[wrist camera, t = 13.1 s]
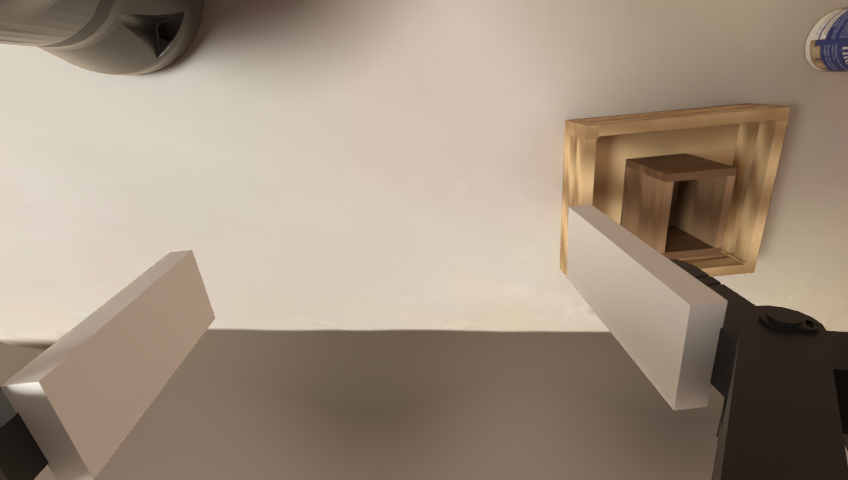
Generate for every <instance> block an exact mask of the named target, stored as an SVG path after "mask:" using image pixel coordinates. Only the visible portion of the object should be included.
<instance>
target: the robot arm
mask: <svg viewBox="0 0 848 480" xmlns="http://www.w3.org/2000/svg"><path fill="white" fill-rule="evenodd" d="M202 6H203V0H0V44H12V45H25V46H37V47H39V48H41V49H43V50H45V51H47V52H49V53H51V54H53V55H55V56H57V57H60V58H62V59H64V60H65V61H68V62H70V63H72V64H74V65H76V66H79V67H81V68H84V69H87V70H90V71H95V72H99V73H104V74H112V75H140V74H147V73H151V72H154V71H158V70H160V69H162V68H164V67H166V66H168V65H170V64H171V63H173V62H174V61H175V60H177V59H178V58H179V57H180V56H181V55H182V54H183V53H184V52H185V51H186V49H187V48H188V47H189V45H190V44H191V42H192V40H193V38H194V36H195V34H196V32H197V29H198V26H199V23H200V19H201V14H202ZM567 278H568V279H569V281H570V282H571V283H572V284H573V286H574V287H575V288H576V289H577V290H578V292H579V293H580V294H581V295H582V297H583V298H584V299H585V300H586V302H587V303H588V304H589V305H590V307H591V308H592V309H593V310H594V312H595V313H596V314H597V315H598V317H599V318H600V319H601V320H602V322H603V323H604V324H605V325H606V327H607V328H608V329H609V330H610V332H611V333H612V334H613V335H614V337H615V338H616V339H617V340H618V341H619V343H620V344H621V345H622V346H623V348H624V349H625V350H626V351H627V352H628V354H629V355H630V356H631V358H632V359H633V360H634V361H635V363H636V364H637V365H638V366H639V368H640V369H641V370H642V371H643V373H644V374H645V375H646V376H647V377H648V379H649V380H650V381H651V382H652V384H653V385H654V386H655V387H656V389H657V390H658V391H659V392H660V394H661V395H662V396H663V397H664V399H665V400H666V401H667V402H668V403H669V405H670V406H671V407H672V409H673V410H681V409H690V408H698V407H706V406H708V400H709V395H710V390H711V385H713V386H714V387H715V388H716V389H717V390H718V391H719V392H720V393H721V394H722V395H723V396H724V397H725V399H724V403H723V408H722V413H721V418H720V422H719V427H718V431H717V437H718V440H717V447H716V454H715V460H714V467H713V473H712V480H848V465H847V458H846V451H845V447H846V449H847V450H848V332H837V331H826V329H825V328H824V326H823V325H822V324H821V323H819V322H818V321H817V320H815V319H814V318H812V317H810V316H808V315H805V314H803V313H801V312H798V311H795V310H791V309H787V308H783V307H776V306H755V305H754V304H752V303H751V302H749V301H748V300H746V299H745V298H743V297H742V296H740V295H739V294H737V293H736V292H734V291H733V290H731V289H730V288H728V287H727V286H725V285H724V284H723V285H721V284H720V282H719V281H717V280H716V279H714V278H713V277H709V275H708V274H707V273H705V272H704V271H702V270H701V269H699V268H698V267H696V266H695V265H692V264H689V263H686V262H684V261H681V260H678V259H668V258H666V257H665V256H663V255H662V254H661V253H659V252H658V251H656V250H655V249H653V248H652V247H651V246H649V245H648V244H646V243H645V242H643V241H642V240H641V239H639V238H638V237H636V236H635V235H634V234H632V233H631V232H629V231H628V230H626V229H625V228H624V227H622V226H621V225H619V224H618V223H616V222H615V221H614V220H612V219H611V218H609V217H608V216H607V215H605V214H604V213H602V212H601V211H599V210H598V209H597V208H595V207H594V206H592V205H591V204H588V205H579V206H571V207H569V213H568V249H567ZM214 319H215V316H214V313H213V310H212V307H211V304H210V301H209V298H208V295H207V293H206V290H205V287H204V284H203V281H202V278H201V275H200V272H199V269H198V266H197V263H196V260H195V257H194V254H193V251H192V250H188V251H179V252H171V253H169V254H167V255H166V256H165V257H164V258H162V259H161V260H160V261H159V262H157V263H156V264H155V265H153V266H152V267H151V268H150V269H148V270H147V271H146V272H145V273H143V274H142V275H141V276H139V277H138V278H137V279H136V280H134V281H133V282H132V283H131V284H129V285H128V286H127V287H125V288H124V289H123V290H122V291H120V292H119V293H118V294H117V295H115V296H114V297H113V298H111V299H110V300H109V301H108V302H106V303H105V304H104V305H103V306H101V307H100V308H99V309H98V310H96V311H95V312H94V313H92V314H91V315H90V316H89V317H87V318H86V319H85V320H84V321H82V322H81V323H80V324H78V325H77V326H76V327H75V328H73V329H72V330H71V331H70V332H68V333H67V334H66V335H64V336H63V337H62V338H61V339H59V340H58V341H57V342H56V343H54V344H53V345H52V346H50V347H49V348H48V349H47V350H45V351H44V352H43V353H42V354H40V355H39V356H38V357H37V358H36V359H34V360H33V361H31V362H30V363H29V364H28V365H26V366H25V367H24V368H23V369H21V370H20V371H19V372H17V373H16V374H15V375H14V376H12V377H11V378H10V379H9V380H7V381H6V382H5V383H3V384H2V385H1V386H0V480H34V479H35V477H36V476H37V475H38V474H39V473H40V472H41V471H42V470H43V469H44V467H45V466H46V465H47V464H48V466H49V467H50V469H51V471H52V472H53V474H54V476H55V477H56V479H57V480H93V479H94V478H95V477H96V476H97V475H98V473H99V472H100V471H101V469H102V468H103V467H104V465H105V464H106V463H107V461H108V460H109V459H110V457H111V456H112V454H113V453H114V452H115V451H116V449H117V448H118V447H119V445H120V444H121V443H122V441H123V440H124V439H125V437H126V436H127V435H128V433H129V432H130V431H131V429H132V428H133V427H134V425H135V424H136V423H137V421H138V420H139V419H140V417H141V416H142V415H143V413H144V412H145V411H146V409H147V408H148V407H149V405H150V404H151V403H152V401H153V400H154V399H155V397H156V396H157V395H158V393H159V392H160V391H161V389H162V388H163V386H164V385H165V384H166V382H167V381H168V380H169V379H170V377H171V376H172V375H173V373H174V372H175V371H176V369H177V368H178V367H179V365H180V364H181V363H182V361H183V360H184V359H185V357H186V356H187V355H188V354H189V352H190V351H191V349H192V348H193V347H194V346H195V344H196V343H197V341H198V340H199V339H200V338H201V336H202V335H203V333H204V332H205V331H206V330H207V328H208V327H209V326H210V324H211V323H212V322H213V320H214Z"/></svg>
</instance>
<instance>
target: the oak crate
mask: <svg viewBox="0 0 848 480" xmlns="http://www.w3.org/2000/svg"><path fill="white" fill-rule="evenodd" d="M790 110H791V107H785V106H772V105H759V104H737V105H726V106H716V107H705V108H694V109H683V110H672V111H661V112H650V113H640V114H629V115H618V116H607V117H596V118H585V119H574V120H565V144H564V171H563V198H562V226H561V253H560V269H561V270H562V271H563V273H564V274H565V275H566V276H567V249H568V213H569V207H571V206H579V205H588V204H591V205H592V206H594V207H595V208H597V209H598V210H599V211H601V212H602V213H604V214H605V215H607V216H608V217H609V218H611V219H612V220H614V221H615V222H616V223H618V224H619V225H620V221H621V209H622V198H623V187H624V175H625V164H626V159H632V158H642V157H653V156H663V155H674V154H684V153H686V154H690V155H693V156H697V157H701V158H704V159H708V160H712V161H715V162H719V163H723V164H726V165H730V166H734V167H737V171H736V177H735V182H734V187H733V193H732V198H731V203H730V209H729V214H728V220H727V225H726V230H725V236H724V241H723V246H722V252H721V254H719V255H709V256H698V257H688V258H678V260H681V261H684V262H686V263H689V264H692V265H695V266H696V267H698V268H699V269H701V270H702V271H704V272H705V273H707V274H708V275H709V277H711V276H722V275H732V274H743V273H753V272H754V271H755V266H756V262H757V257H758V253H759V248H760V244H761V239H762V235H763V231H764V226H765V222H766V217H767V213H768V208H769V204H770V199H771V195H772V190H773V186H774V181H775V177H776V172H777V168H778V163H779V159H780V154H781V150H782V146H783V141H784V137H785V132H786V128H787V123H788V119H789V114H790Z"/></svg>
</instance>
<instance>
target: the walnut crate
mask: <svg viewBox="0 0 848 480" xmlns="http://www.w3.org/2000/svg"><path fill="white" fill-rule="evenodd" d="M736 171H737V167H734V166H730V165H726V164H723V163H719V162H715V161H712V160H708V159H704V158H701V157H697V156H693V155H690V154H686V153H684V154H674V155H663V156H653V157H642V158H632V159H626V164H625V175H624V187H623V198H622V209H621V221H620V225H621V226H622V227H624V228H625V229H626V230H628V231H629V232H631V233H632V234H634V235H635V236H636V237H638V238H639V239H641V240H642V241H643V242H645V243H646V244H648V245H649V246H651V247H652V248H653V249H655V250H656V251H658V252H659V253H661V254H662V255H663V256H665V257H666V258H668V259H678V258H688V257H698V256H709V255H719V254H721V252H722V246H723V241H724V236H725V230H726V225H727V220H728V214H729V209H730V203H731V198H732V193H733V187H734V182H735V177H736Z"/></svg>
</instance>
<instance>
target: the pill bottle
mask: <svg viewBox="0 0 848 480" xmlns="http://www.w3.org/2000/svg"><path fill="white" fill-rule="evenodd" d="M805 53H806V58H807V61H808V63H809V64H810V65H811V66H812V67H813V68H815V69H817V70H820V71H848V7H847V8H842V9H837V10H835V11H832V12H830V13H828V14H827V15H825V16H824V17H823V18H822V19H821V20H819V21H818V23H817V24H816V25H815V26H814V27H813V29H812V30H811V32H810V34H809V36H808V38H807V41H806V45H805Z"/></svg>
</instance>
